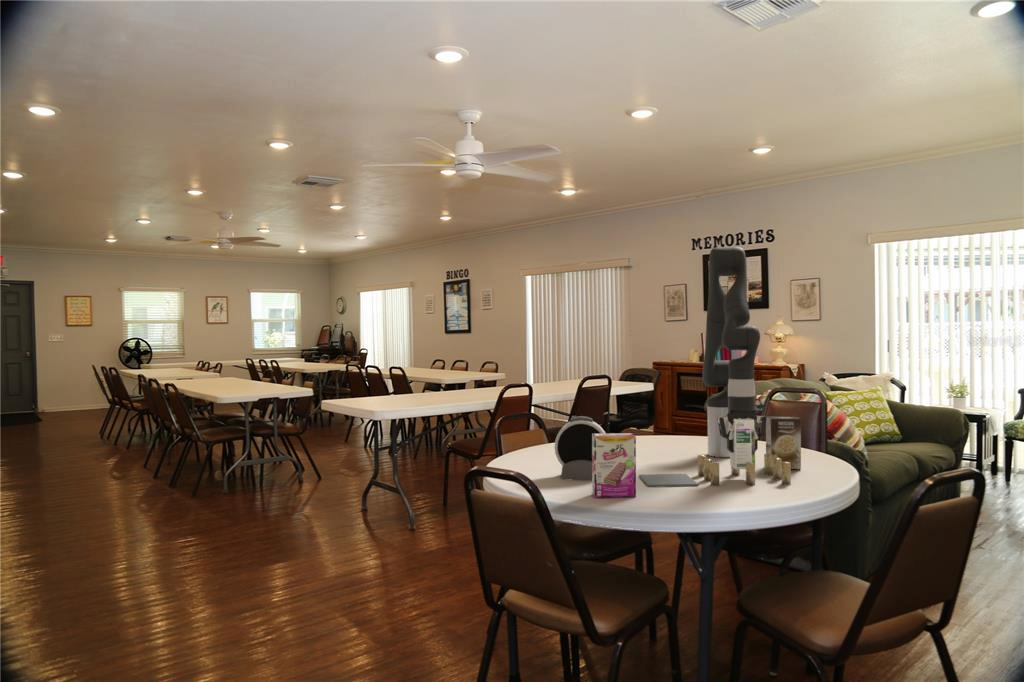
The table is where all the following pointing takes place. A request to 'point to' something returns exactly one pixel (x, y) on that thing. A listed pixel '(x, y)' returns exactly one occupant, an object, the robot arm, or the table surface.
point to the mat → (668, 480)
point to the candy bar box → (614, 465)
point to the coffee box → (784, 439)
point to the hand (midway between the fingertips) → (742, 451)
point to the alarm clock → (576, 447)
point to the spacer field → (770, 467)
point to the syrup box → (743, 443)
